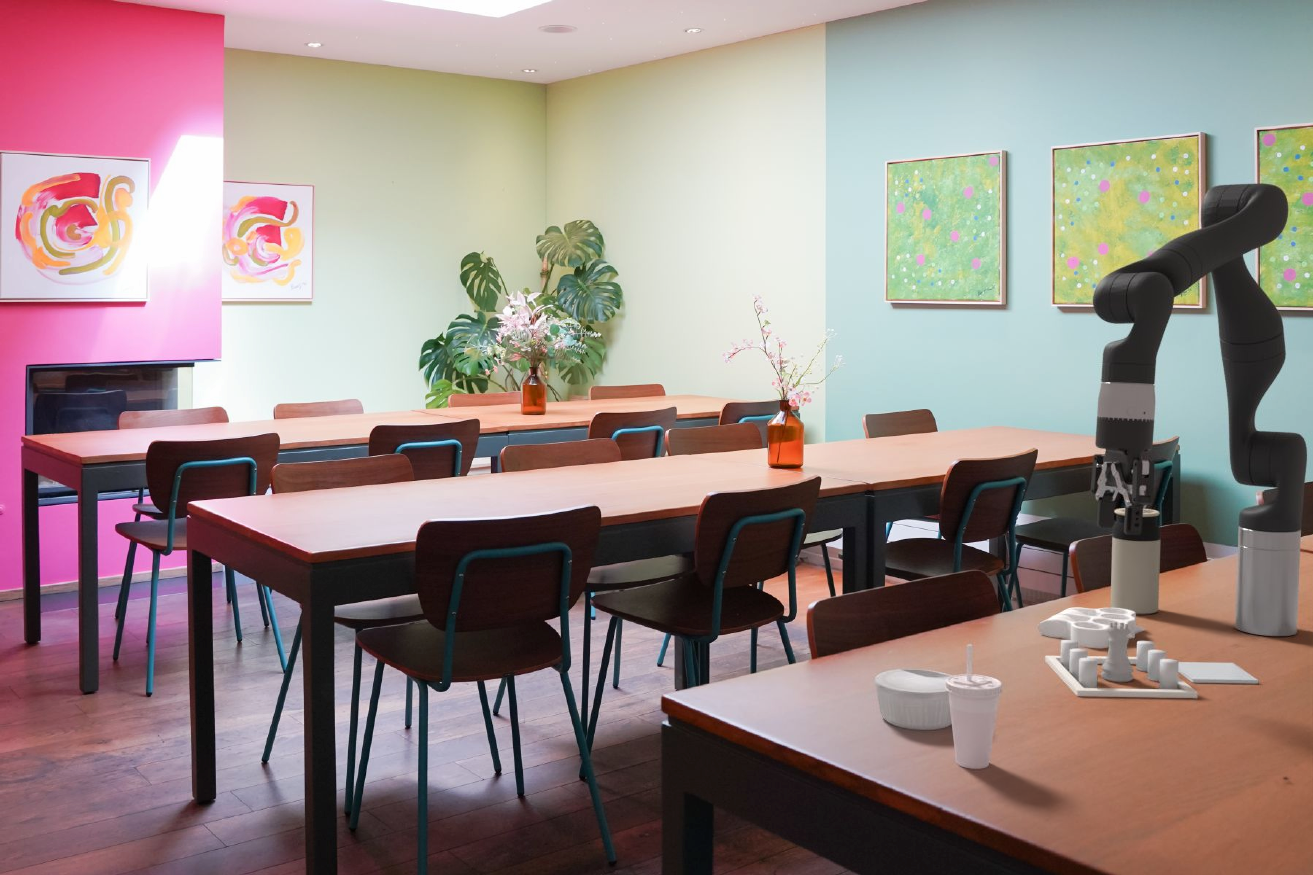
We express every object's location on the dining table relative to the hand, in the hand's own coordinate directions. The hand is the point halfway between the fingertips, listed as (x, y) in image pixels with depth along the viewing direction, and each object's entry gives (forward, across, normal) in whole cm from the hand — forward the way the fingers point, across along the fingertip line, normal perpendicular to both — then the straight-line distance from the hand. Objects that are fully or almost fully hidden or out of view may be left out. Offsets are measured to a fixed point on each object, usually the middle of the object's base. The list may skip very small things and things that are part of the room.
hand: (1118, 530), depth 169 cm
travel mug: (+19, +44, -25) cm, 54 cm away
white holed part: (+21, +28, -10) cm, 36 cm away
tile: (+21, +4, -17) cm, 27 cm away
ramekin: (+24, -12, +31) cm, 41 cm away
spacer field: (+22, +3, -3) cm, 22 cm away
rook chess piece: (+22, +3, -3) cm, 22 cm away
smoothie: (+25, -29, +29) cm, 48 cm away
